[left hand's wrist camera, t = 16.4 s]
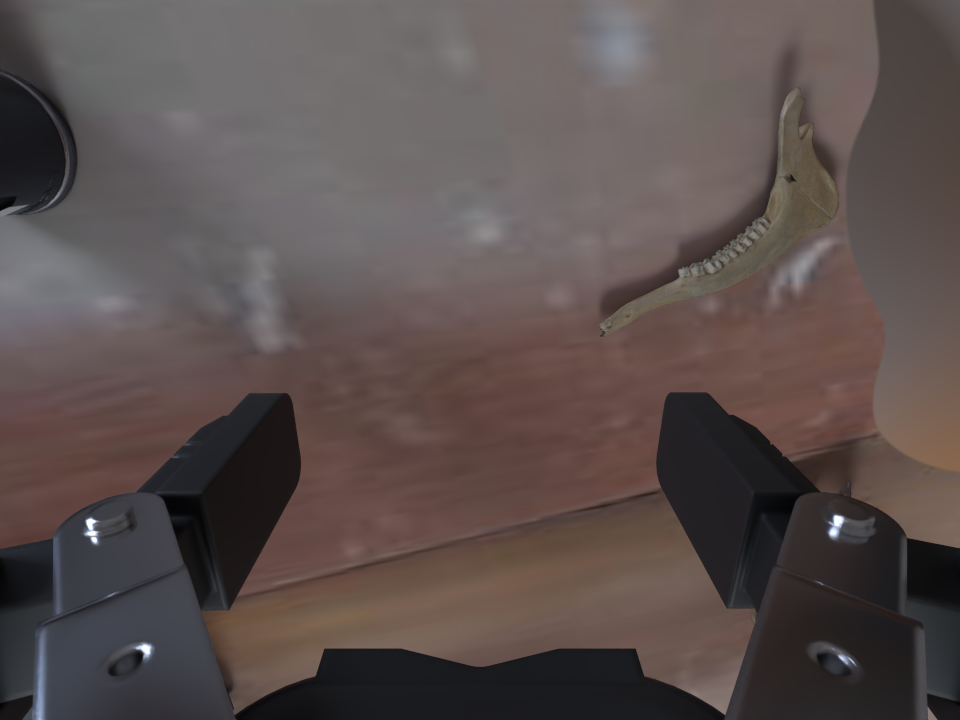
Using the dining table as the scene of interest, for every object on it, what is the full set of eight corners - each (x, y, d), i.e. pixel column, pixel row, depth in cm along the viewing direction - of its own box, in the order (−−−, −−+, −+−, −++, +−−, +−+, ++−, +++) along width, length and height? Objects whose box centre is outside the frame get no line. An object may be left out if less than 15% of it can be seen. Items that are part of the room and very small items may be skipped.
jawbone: (865, 165, 37) (887, 168, 35) (673, 381, 44) (684, 393, 42) (781, 87, 35) (800, 85, 33) (591, 328, 41) (598, 338, 40)
